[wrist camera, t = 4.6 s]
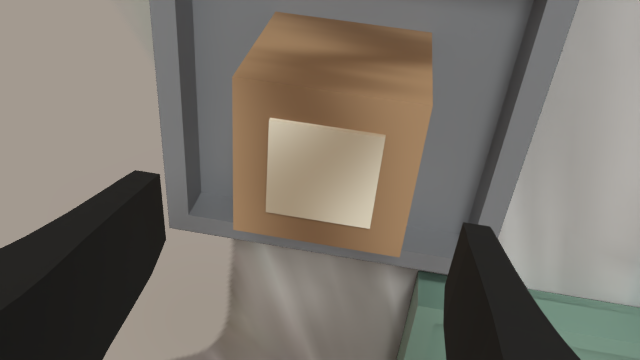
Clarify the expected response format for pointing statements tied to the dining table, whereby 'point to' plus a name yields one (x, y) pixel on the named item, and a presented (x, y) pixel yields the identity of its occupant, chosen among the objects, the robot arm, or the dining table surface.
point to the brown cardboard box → (330, 131)
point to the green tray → (562, 311)
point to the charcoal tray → (443, 130)
